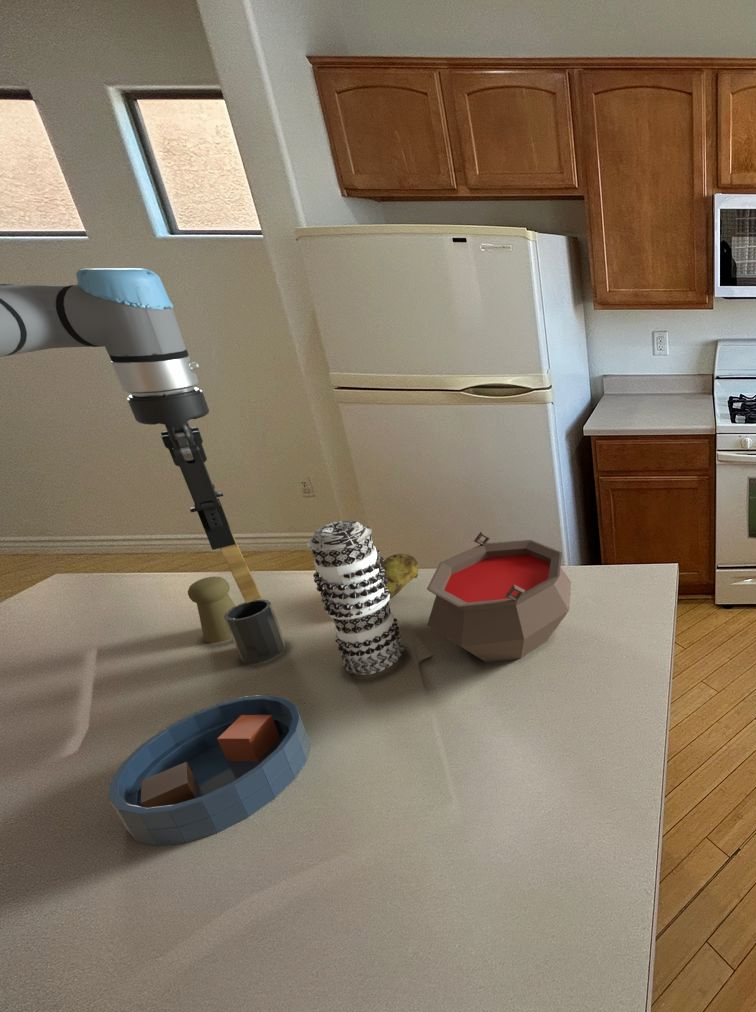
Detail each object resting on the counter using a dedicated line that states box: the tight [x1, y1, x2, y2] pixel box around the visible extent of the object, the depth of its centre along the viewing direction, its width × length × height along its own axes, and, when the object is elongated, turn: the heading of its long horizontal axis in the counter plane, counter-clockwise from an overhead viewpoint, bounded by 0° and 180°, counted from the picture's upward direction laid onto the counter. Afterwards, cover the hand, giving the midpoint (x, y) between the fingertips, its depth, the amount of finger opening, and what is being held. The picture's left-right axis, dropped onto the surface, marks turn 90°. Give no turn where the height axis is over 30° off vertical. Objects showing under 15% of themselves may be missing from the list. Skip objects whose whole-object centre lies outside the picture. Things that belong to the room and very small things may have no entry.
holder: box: [224, 598, 286, 665], centre depth 91 cm, size 6×6×9 cm
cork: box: [187, 576, 236, 644], centre depth 95 cm, size 6×6×11 cm
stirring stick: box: [219, 528, 262, 603], centre depth 85 cm, size 2×2×20 cm
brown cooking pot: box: [426, 530, 572, 663], centre depth 95 cm, size 24×24×16 cm
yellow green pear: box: [381, 553, 419, 600], centre depth 106 cm, size 8×13×8 cm, turn 139°
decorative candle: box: [306, 520, 405, 676], centre depth 86 cm, size 9×9×25 cm
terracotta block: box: [217, 715, 280, 761], centre depth 73 cm, size 4×4×4 cm
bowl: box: [108, 694, 311, 847], centre depth 69 cm, size 18×18×6 cm
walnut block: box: [140, 762, 199, 808], centre depth 65 cm, size 4×4×4 cm
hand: (223, 542), depth 84 cm, fingers closed on stirring stick, 2 cm apart
